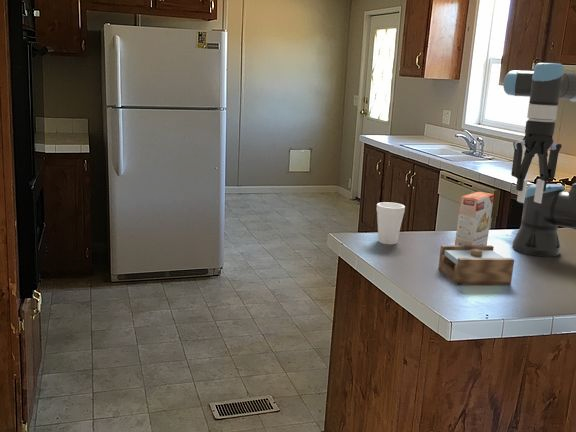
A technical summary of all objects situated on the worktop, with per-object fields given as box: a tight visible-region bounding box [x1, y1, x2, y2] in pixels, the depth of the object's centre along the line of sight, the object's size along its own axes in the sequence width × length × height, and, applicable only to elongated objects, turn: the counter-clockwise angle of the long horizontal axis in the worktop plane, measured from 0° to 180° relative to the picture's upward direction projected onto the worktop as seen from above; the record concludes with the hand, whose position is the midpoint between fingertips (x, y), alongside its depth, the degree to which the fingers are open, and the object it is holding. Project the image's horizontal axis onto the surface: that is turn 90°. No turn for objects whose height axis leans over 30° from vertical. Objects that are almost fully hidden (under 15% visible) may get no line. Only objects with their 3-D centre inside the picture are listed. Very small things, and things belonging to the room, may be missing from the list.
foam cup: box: [376, 201, 406, 245], centre depth 207 cm, size 10×9×13 cm
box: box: [437, 244, 515, 286], centre depth 175 cm, size 16×14×8 cm
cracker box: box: [454, 191, 495, 246], centre depth 192 cm, size 14×6×21 cm, turn 141°
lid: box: [444, 249, 505, 265], centre depth 174 cm, size 15×10×3 cm
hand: (529, 201), depth 172 cm, fingers open, 4 cm apart
